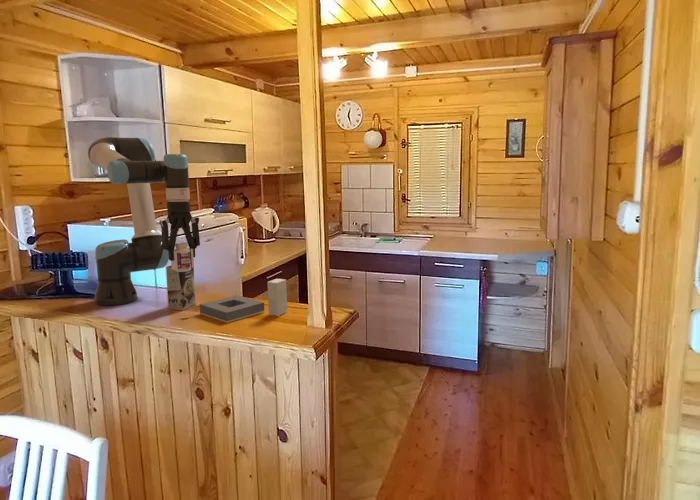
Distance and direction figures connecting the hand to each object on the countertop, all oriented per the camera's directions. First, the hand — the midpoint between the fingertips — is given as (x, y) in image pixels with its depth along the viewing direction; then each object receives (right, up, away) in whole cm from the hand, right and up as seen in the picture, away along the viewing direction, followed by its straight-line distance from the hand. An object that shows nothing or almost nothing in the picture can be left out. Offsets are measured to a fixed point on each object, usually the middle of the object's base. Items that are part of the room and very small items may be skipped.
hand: (183, 268), depth 169 cm
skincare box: (+32, -16, +6) cm, 36 cm away
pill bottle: (0, -1, 0) cm, 1 cm away
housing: (+15, -16, +7) cm, 23 cm away
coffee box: (-5, -15, +15) cm, 22 cm away
